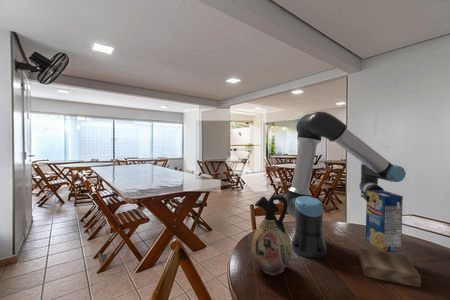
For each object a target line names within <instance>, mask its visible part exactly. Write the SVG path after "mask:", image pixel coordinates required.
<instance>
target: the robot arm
mask: <svg viewBox="0 0 450 300" xmlns="http://www.w3.org/2000/svg"><path fill="white" fill-rule="evenodd" d="M295 127H296V129H295V130H296V132H297V140H298V143H299V144H298V148H297V154H296V160H295V166H294V170H293V176H292V177H293V178H292V183H291V186H290V187H289V188H287V193H286V194H285V195H284V197H285V198H286V200H287V204H288V207H287V211H286V214H288V215H290V216H291V217H292V218H293V219H294V220H295V221H294V222H295V223H294V225H295V228H294V230H295V231H294V234H293V237H292V239H291V241H290V245H291V247H292V248H291V250H292V249H293V250H294V251H295V252H296V253H295V252H294V251H293V250H292V251H293V252H294V253H295V254H297V253H298V254H297V255H299V254H300V256H301V255H302V256H303V257H304V258H310V259H311V258H312V259H319V258H320V259H321V258H323V257H326V255H327V245H326V242H325V239H324V236H323V225H324V224H323V221H324V220H323V218H324V217H323V214H324V208H323V203H322V202H321V201H320V199H318V198H316V197H312V193H311V191H310V185H311V179H312V175H313V174H312V173H313V167H314V162H315V159H316V152H317V147H318V144H319V143H321V142H322V137H323V138H324V139H327V140H328V141H330V142H335V143H336V144H337V145H338V146H340V147H341V148H343V149H344V150H345V151H346V152H348V153H349V154H350V155H351V156H352V157H354V158H355V159H357V160H358V161H359V162H361V163H360V164H361V165H360V182H359V186H358V187H359V190H360V197H362V198H363V199H364V200H365V201H366V202H369V196H368V195H367V190H384V188H383V187H381V186H380V185H379V179H380V180H384V181H386V182H390V183H391V182H392V183H393V182H394V183H399V182H402V181H404V179H405V177H406V170H405V168H404V167H402V166H400V165H397V164H393V163H391V162H390V161H389V160H388V159H386V158H385V157H383V156H382V155H381V154H380V153H379V152H377V151H376V150H375V149H373V148H372V147H371V146H369V145H368V144H367V143H366V142H364V141H363V140H361V138H359V137H358V136H357V135H355V134H354V133H353V132H351V130H349V129H348V126H347V125H346V124H345V123H344V122H343V121H342V120H341V119H339V118H337V117H336V116H334V115H333V114H330V113H328V112H326V111H316V112H313V113H309V114H305V115H303V116H301V117H300V118H299V119H298V121H297V123H296V126H295ZM384 191H385V190H384ZM393 194H395V193H393ZM373 202H374V203H376V200H375V199H373ZM379 207H381V208H382V200H379ZM397 209H400V202H397Z"/></svg>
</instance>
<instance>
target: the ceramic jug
mask: <svg viewBox="0 0 450 300" xmlns="http://www.w3.org/2000/svg"><path fill="white" fill-rule="evenodd" d="M284 196H285V195H284ZM284 196H283V195H282V194H274V195H271V197H270V198H269V199H267V198H266V196H262V197H261V198H259V200H257V201H256V202H255V204H254V206H255V207H256V208H259V209H261V210H263V211H264V212H265V216H264V218H263V220H262V221H261V222H260V224H259V225H258V226H257V229H256V230H255V232H254V234H253V236H252V240H251V245H250V253H251V256H252V259H253V260H254V261H253V262H254V263H255V264H256V265H257V266H258V268H259V267H260V269H261V270H262V271H264V272H266V273H269V274H278V273H280V274H282V273H283V272H284V271H285V268H286V267H287V266H288V265H289V263H290V262H291V258H292V248H291V241H290V239H289V237H288V235H287V233H286V229H285V225H284V219H285V216H286V214H287V207H288V204H287V200H286V198H285V197H284ZM274 201H280V202H281V203H282V210H281V212H280V214H279V218H278V219H277V216H276V213H277V212H279V211H280V209H279V207H278V206H277V205H276V204H275V203H274ZM275 212H276V213H275ZM260 269H259V270H260ZM281 272H282V273H281ZM278 275H279V274H278Z"/></svg>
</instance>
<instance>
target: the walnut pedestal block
mask: <svg viewBox="0 0 450 300" xmlns="http://www.w3.org/2000/svg"><path fill="white" fill-rule="evenodd" d="M358 259H359V263H360V265H361V268H362V272H363V274H364V277H367V278H372V279H378V280H382V281H386V282H387V281H388V282H392V283H397V284H401V285H407V286H412V287H416V288H421V285H422V284H421V281H422V280H421V278H422V277H421V274H420V273H419V272H418V271H417V269H416V268H415V266H414V265H413V264H412V263H411V261H410V260H409V259H408V257H407V255H402V254H398V253H392V252H382V251H378V250H372V249H364V248H359V247H358Z"/></svg>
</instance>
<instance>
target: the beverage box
mask: <svg viewBox="0 0 450 300" xmlns="http://www.w3.org/2000/svg"><path fill="white" fill-rule="evenodd" d="M367 195H368V196H369V202H367V201H366V205H365V206H366V210H365V215H366V216H365V241H367V242H368V243H369V244H370V245H372V246H374V247H375V248H377V249H378V250H379V251H380V252H385V253H402V237H403V236H402V234H403V203H404V202H403V200H404V198H403V197H404V196H403V195H400V194H396V193H394V194H393V193H392V192H390V191H386V190H367ZM373 199H375V200H376V203H374V202H373ZM379 200H382V208H381V207H379ZM397 202H400V209H397Z"/></svg>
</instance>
